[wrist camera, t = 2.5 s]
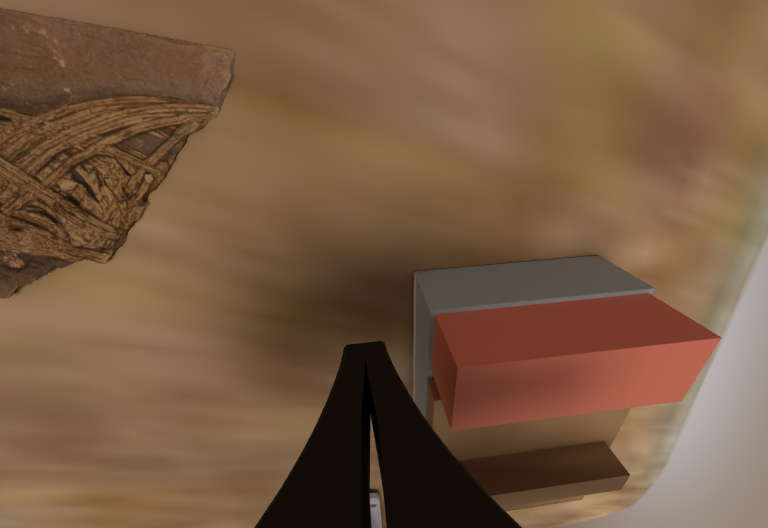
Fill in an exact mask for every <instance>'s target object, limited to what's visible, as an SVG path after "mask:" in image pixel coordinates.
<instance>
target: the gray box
mask: <svg viewBox="0 0 768 528" xmlns="http://www.w3.org/2000/svg"><path fill="white" fill-rule="evenodd" d="M654 290H655V288H654V287H652V286H650V285H648V284H647V283H645V282H643V281H642V280H640V279H638V278H636V277H635V276H633V275H631V274H630V273H628V272H626V271H624V270H623V269H621V268H619V267H617V266H616V265H614V264H612V263H611V262H609V261H607V260H605V259H604V258H602V257H600V256H599V255H596V256H584V257H573V258H562V259H550V260H539V261H527V262H516V263H505V264H493V265H482V266H470V267H459V268H447V269H436V270H425V271H414V336H413V401H414V402H415V404H416V405H417V407H418V408H419V410H420V411H421V413H422V414H423V416H424V417H425V419H427V395H428V380H435V379H434V376H433V373H432V365H433V345H434V325H435V314H443V313H453V312H463V311H473V310H483V309H493V308H503V307H514V306H524V305H534V304H544V303H554V302H564V301H574V300H584V299H594V298H604V297H614V296H624V295H634V294H644V293H649V294H651V295H652V294H653V292H654Z"/></svg>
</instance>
